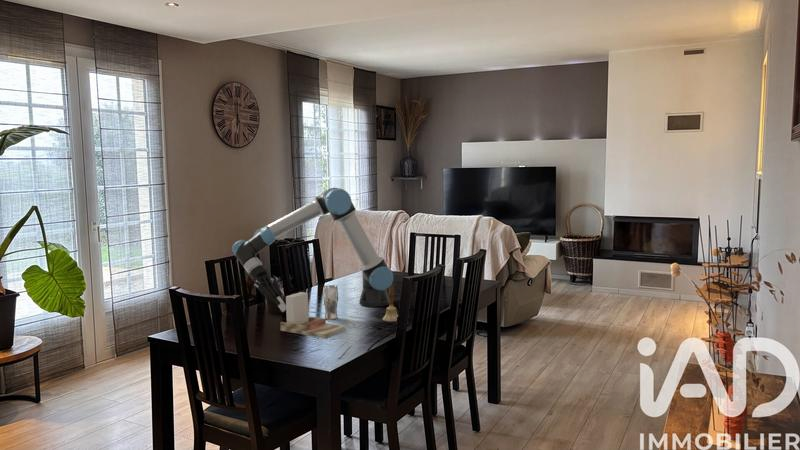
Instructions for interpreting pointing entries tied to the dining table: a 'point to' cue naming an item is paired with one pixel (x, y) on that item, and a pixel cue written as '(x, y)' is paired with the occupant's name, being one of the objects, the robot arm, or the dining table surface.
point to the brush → (391, 308)
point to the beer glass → (330, 301)
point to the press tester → (312, 328)
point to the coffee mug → (272, 306)
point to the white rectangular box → (297, 308)
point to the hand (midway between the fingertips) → (285, 309)
